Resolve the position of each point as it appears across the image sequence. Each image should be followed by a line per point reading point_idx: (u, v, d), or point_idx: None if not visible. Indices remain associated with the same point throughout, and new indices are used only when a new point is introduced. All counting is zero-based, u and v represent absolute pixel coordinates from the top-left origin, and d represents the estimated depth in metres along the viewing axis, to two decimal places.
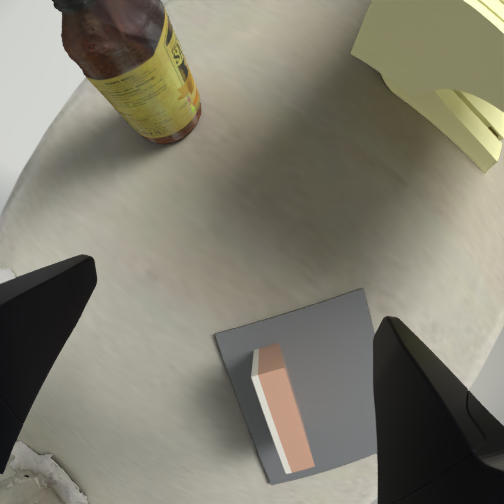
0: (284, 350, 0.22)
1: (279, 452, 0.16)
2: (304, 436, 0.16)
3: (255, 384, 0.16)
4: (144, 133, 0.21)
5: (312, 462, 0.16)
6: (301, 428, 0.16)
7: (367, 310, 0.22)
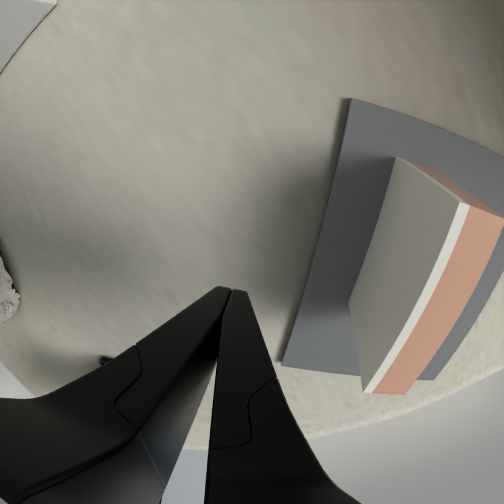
0: None
1: (388, 359, 0.09)
2: (437, 347, 0.09)
3: (455, 220, 0.07)
4: None
5: (408, 388, 0.10)
6: (446, 333, 0.09)
7: None
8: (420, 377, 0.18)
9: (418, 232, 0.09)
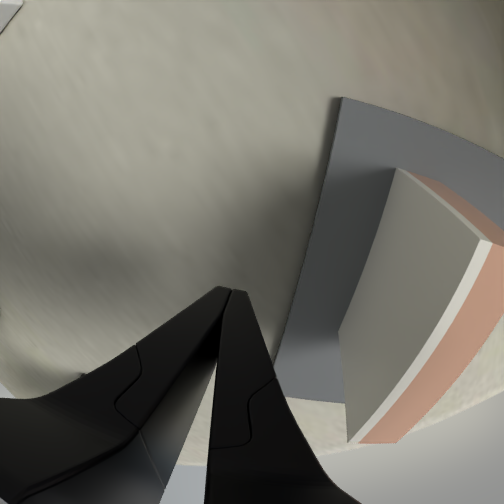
0: None
1: (377, 414, 0.07)
2: (435, 400, 0.07)
3: (473, 263, 0.05)
4: None
5: (399, 437, 0.08)
6: (447, 386, 0.07)
7: None
8: None
9: (422, 268, 0.07)
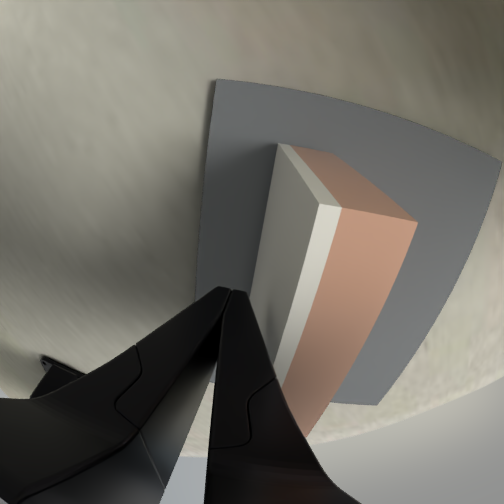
0: None
1: None
2: (332, 392, 0.07)
3: (317, 234, 0.05)
4: None
5: (307, 431, 0.09)
6: (340, 378, 0.07)
7: (489, 199, 0.10)
8: (358, 402, 0.17)
9: (284, 247, 0.07)
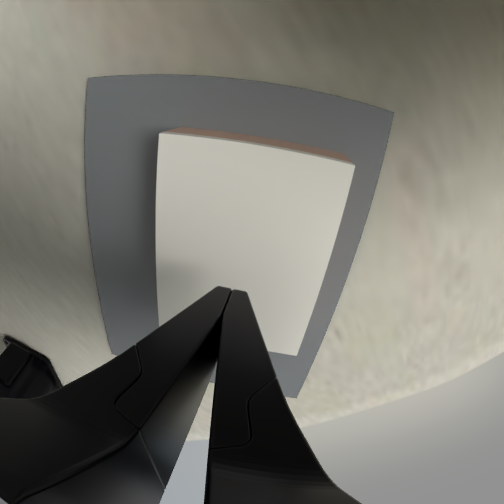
0: None
1: (310, 317, 0.11)
2: None
3: (350, 181, 0.09)
4: None
5: None
6: None
7: (380, 158, 0.10)
8: None
9: (287, 208, 0.09)
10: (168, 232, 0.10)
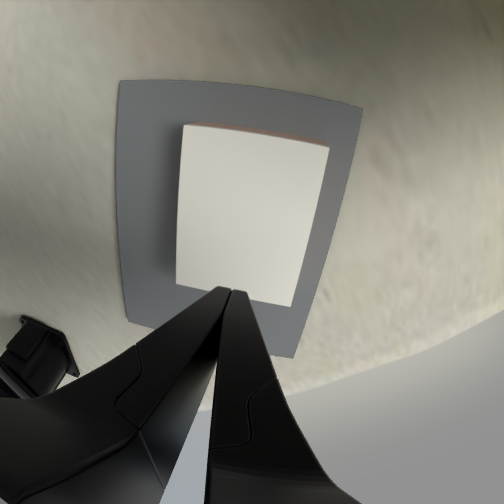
0: None
1: None
2: None
3: (326, 160, 0.12)
4: None
5: None
6: None
7: (352, 144, 0.13)
8: (272, 352, 0.20)
9: (279, 180, 0.12)
10: (188, 201, 0.13)
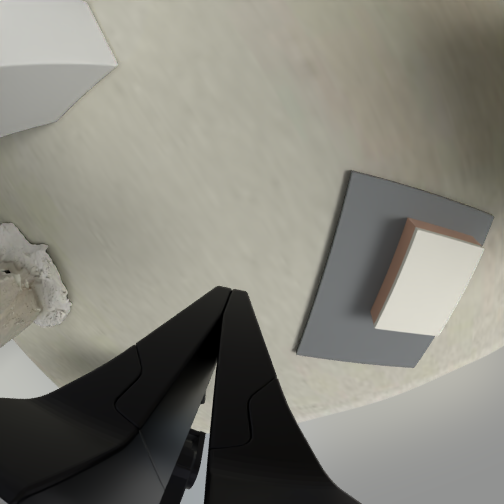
0: None
1: (450, 314, 0.19)
2: None
3: (481, 255, 0.16)
4: None
5: None
6: None
7: (484, 237, 0.18)
8: (402, 365, 0.24)
9: (458, 266, 0.17)
10: (405, 277, 0.18)
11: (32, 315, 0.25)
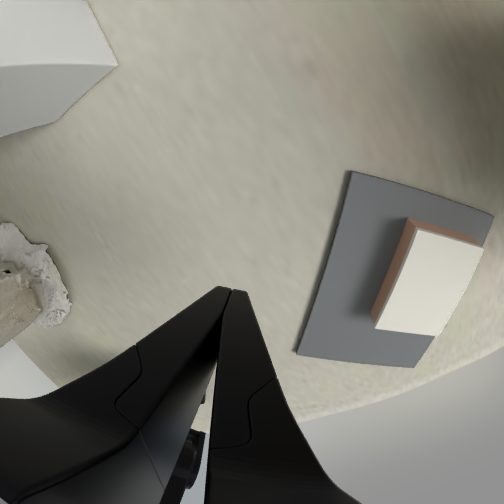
0: None
1: (450, 315, 0.19)
2: None
3: (481, 255, 0.16)
4: None
5: None
6: None
7: (484, 238, 0.18)
8: (402, 365, 0.24)
9: (458, 266, 0.17)
10: (405, 277, 0.18)
11: (32, 315, 0.25)
